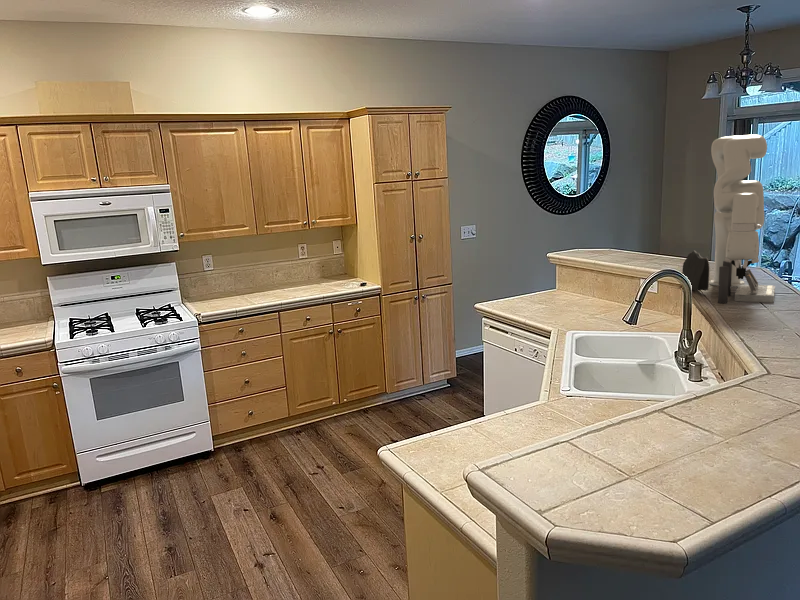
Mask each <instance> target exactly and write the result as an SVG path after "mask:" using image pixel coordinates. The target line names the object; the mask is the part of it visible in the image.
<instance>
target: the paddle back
mask: <svg viewBox="0 0 800 600" xmlns="http://www.w3.org/2000/svg"><path fill="white" fill-rule="evenodd" d="M747 272H749V273H750V275H751V277H752V278H753V280H754V281H755V283H756V285H757V287H758V285H759V282H758V280H757V279H756V277H755V276H754V274H753V272H752V270H751V269H746V273H747Z"/></svg>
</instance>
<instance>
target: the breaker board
mask: <svg viewBox="0 0 800 600" xmlns="http://www.w3.org/2000/svg"><path fill="white" fill-rule="evenodd" d="M775 291H776V285H764V284H761V285H760V284H758V288H757V292H756V294H753V292H752V291H751V289H750V287H749V284H744V285H738V286H737V287H736V290H735V293H734V302H747V303H748V302H751V303H768V304H773V303H775V302H774V301H775Z"/></svg>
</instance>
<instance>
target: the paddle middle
mask: <svg viewBox="0 0 800 600" xmlns="http://www.w3.org/2000/svg"><path fill="white" fill-rule="evenodd" d="M749 274H750V273H749V272H747V273H746V275H749ZM750 276H751V275H750ZM751 278H752V277H751ZM752 281H753V283H754V285H755V287H756V289H757V288H758V287H757V285H756V283H755V281H754V280H753V278H752Z"/></svg>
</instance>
